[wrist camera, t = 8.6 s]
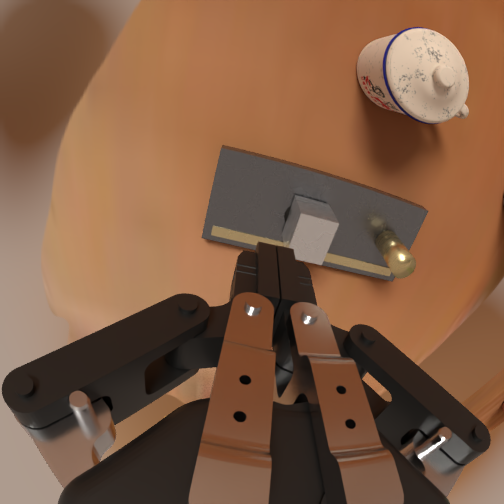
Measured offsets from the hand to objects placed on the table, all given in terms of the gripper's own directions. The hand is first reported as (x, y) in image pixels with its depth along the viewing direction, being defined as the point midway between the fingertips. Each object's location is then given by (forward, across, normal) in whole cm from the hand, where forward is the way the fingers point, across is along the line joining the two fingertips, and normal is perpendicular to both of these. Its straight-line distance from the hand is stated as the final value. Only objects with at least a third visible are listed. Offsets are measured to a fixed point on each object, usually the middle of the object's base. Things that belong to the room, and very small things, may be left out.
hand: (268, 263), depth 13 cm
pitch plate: (+23, -8, +6) cm, 25 cm away
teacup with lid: (+23, -13, -13) cm, 29 cm away
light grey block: (+21, -6, +6) cm, 23 cm away
